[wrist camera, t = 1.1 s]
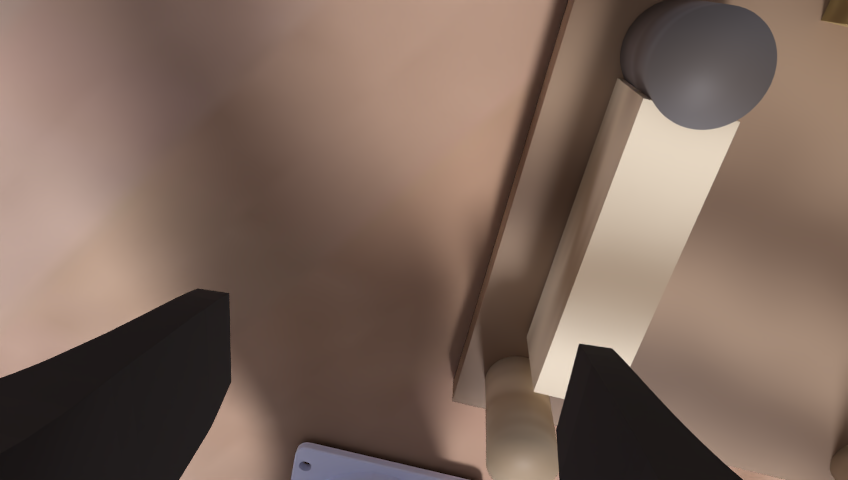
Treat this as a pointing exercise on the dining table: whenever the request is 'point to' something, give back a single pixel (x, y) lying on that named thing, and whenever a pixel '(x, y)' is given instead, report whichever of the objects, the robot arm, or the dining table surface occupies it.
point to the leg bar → (647, 177)
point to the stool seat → (694, 260)
